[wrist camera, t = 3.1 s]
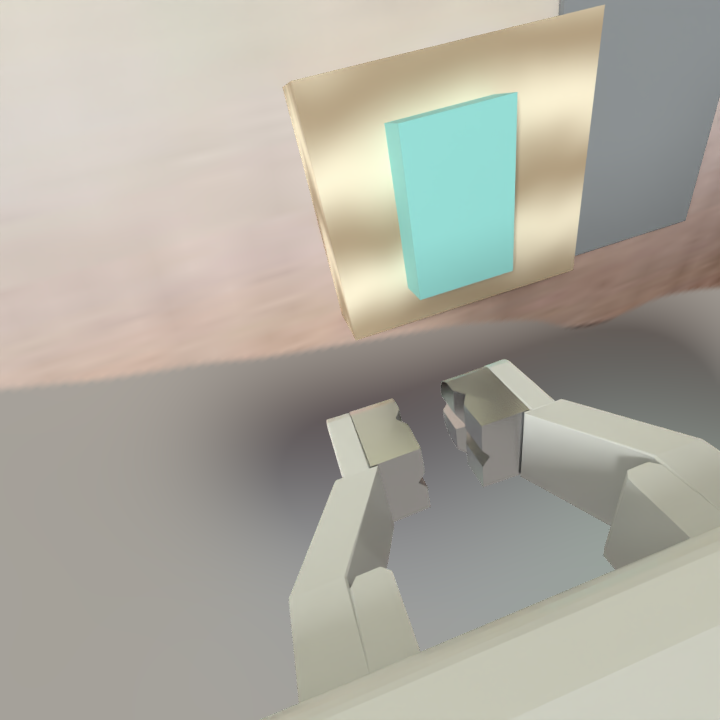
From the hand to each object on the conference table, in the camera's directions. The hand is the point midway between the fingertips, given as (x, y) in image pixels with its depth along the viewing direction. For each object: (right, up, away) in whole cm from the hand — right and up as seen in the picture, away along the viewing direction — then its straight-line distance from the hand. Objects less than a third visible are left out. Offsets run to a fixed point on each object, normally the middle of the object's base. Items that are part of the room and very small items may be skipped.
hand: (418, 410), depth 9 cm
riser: (+4, +13, +17) cm, 21 cm away
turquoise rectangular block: (+4, +10, +13) cm, 17 cm away
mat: (+18, +17, +18) cm, 31 cm away
